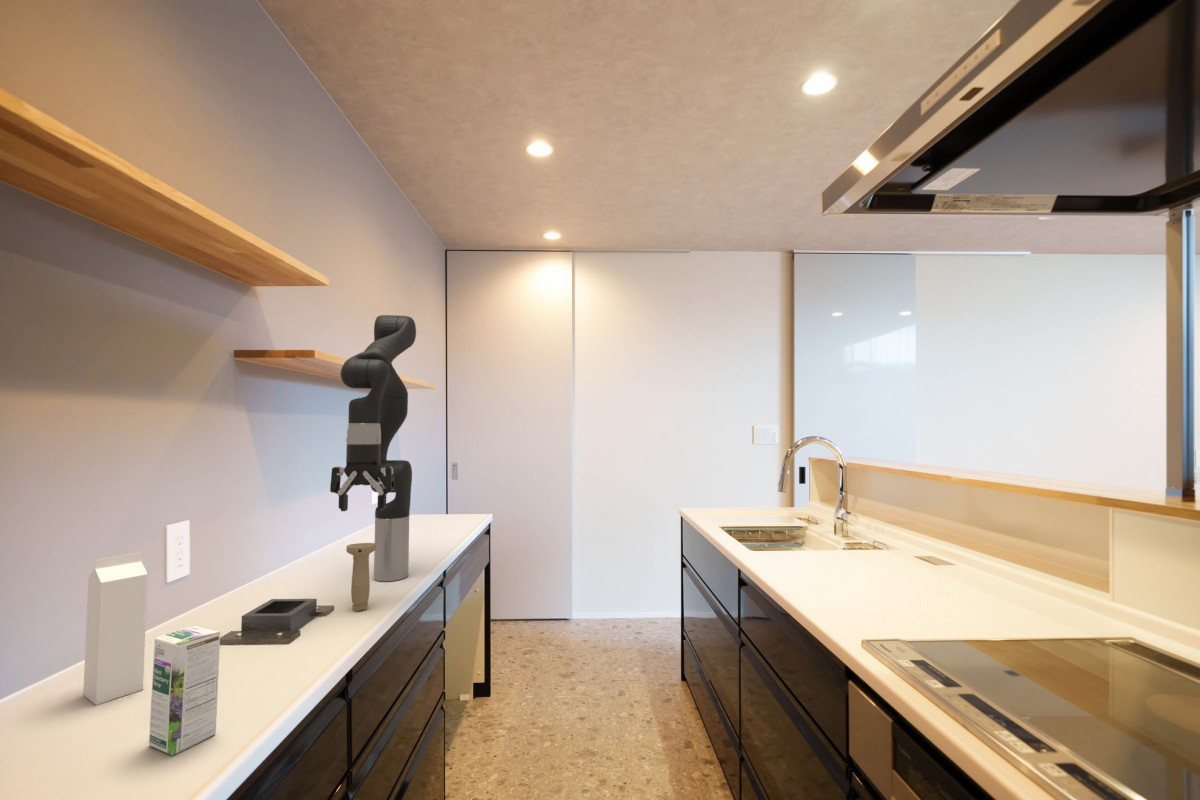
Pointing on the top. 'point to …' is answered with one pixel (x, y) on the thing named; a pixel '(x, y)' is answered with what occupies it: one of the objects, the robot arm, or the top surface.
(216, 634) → the syrup box
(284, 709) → the top surface
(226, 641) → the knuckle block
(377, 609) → the top surface
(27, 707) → the top surface
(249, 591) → the top surface
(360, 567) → the handle
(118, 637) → the milk
